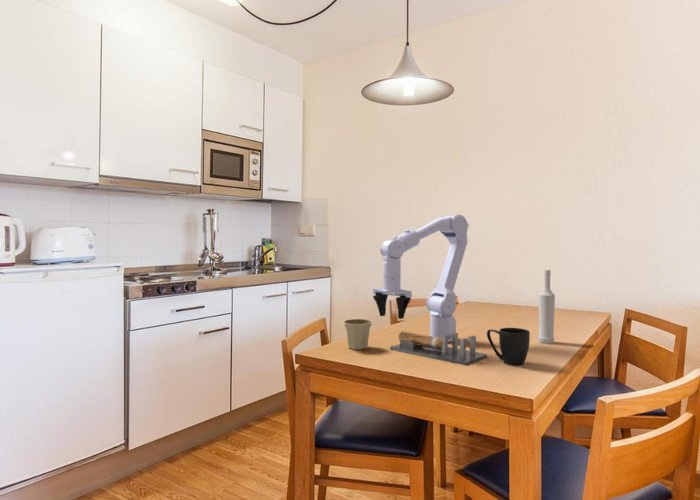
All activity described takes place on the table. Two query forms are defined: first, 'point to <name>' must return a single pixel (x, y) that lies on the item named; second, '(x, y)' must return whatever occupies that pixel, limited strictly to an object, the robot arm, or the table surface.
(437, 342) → the copper tube
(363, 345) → the flower pot
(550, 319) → the bottle
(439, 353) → the firebox plate
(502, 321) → the table surface
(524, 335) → the mug
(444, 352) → the collar
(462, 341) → the collar
